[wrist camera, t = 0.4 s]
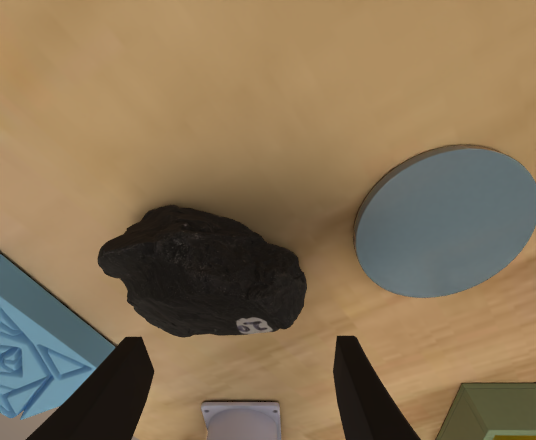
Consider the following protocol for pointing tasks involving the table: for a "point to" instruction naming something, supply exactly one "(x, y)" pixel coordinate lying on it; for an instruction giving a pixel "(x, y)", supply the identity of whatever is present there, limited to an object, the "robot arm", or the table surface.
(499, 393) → the tub
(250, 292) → the rock
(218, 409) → the robot arm
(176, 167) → the table surface
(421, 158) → the saucer
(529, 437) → the pepper
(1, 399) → the decorative tile
